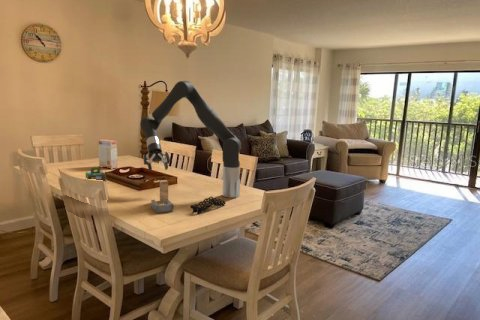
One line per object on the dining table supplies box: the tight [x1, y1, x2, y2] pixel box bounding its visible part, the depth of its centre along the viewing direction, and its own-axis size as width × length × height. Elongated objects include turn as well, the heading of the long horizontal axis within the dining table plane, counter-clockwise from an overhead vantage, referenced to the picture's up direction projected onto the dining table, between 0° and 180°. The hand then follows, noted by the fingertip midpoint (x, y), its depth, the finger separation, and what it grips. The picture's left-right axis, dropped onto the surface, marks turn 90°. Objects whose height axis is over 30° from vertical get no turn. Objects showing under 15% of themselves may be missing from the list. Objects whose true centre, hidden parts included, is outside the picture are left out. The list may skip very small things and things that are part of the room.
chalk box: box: [85, 166, 107, 182], centre depth 196 cm, size 9×9×15 cm
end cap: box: [150, 198, 174, 214], centre depth 173 cm, size 11×8×4 cm
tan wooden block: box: [159, 179, 169, 204], centre depth 185 cm, size 4×4×11 cm
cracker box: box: [98, 138, 118, 169], centre depth 264 cm, size 14×6×21 cm, turn 58°
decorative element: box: [190, 196, 226, 215], centre depth 176 cm, size 22×5×6 cm, turn 142°
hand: (158, 169), depth 194 cm, fingers open, 8 cm apart
